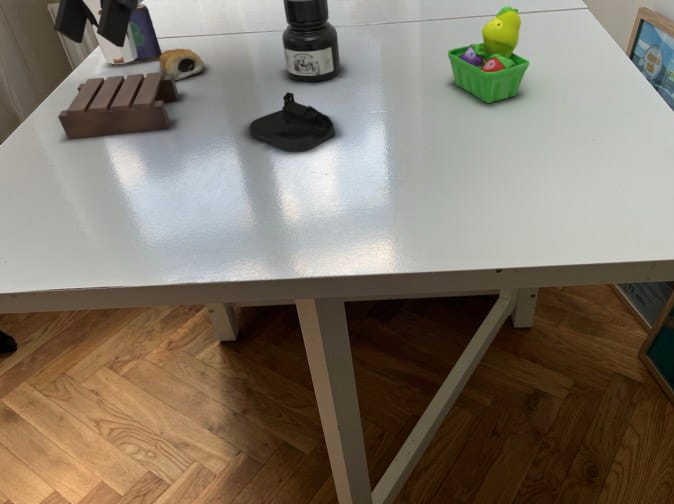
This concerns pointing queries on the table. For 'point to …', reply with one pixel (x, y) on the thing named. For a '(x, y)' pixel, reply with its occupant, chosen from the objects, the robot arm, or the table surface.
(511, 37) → the fruit basket
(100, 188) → the table surface
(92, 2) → the milkshake
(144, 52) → the flask
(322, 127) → the black miniature model
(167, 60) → the pastry
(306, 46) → the ink bottle
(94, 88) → the rack
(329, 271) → the table surface
